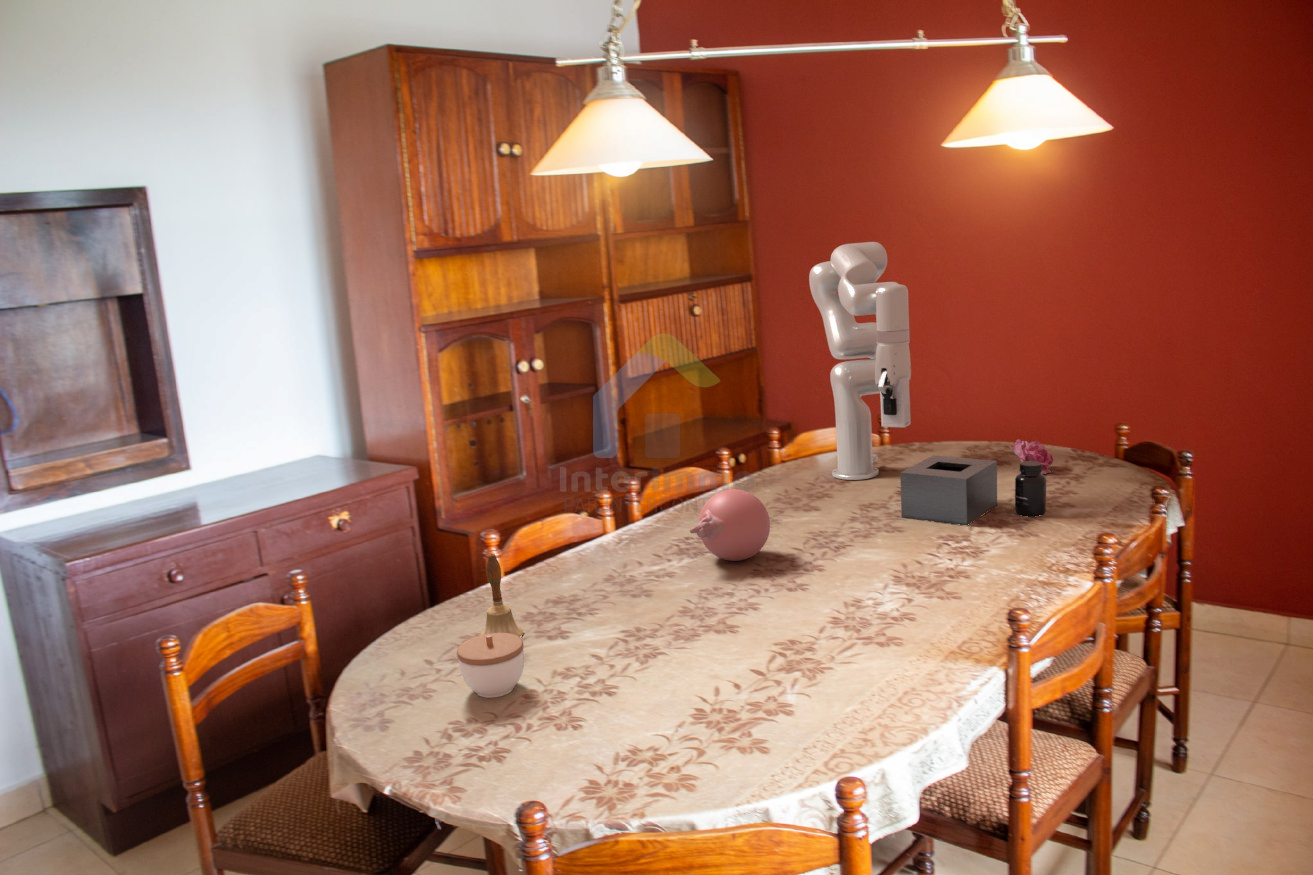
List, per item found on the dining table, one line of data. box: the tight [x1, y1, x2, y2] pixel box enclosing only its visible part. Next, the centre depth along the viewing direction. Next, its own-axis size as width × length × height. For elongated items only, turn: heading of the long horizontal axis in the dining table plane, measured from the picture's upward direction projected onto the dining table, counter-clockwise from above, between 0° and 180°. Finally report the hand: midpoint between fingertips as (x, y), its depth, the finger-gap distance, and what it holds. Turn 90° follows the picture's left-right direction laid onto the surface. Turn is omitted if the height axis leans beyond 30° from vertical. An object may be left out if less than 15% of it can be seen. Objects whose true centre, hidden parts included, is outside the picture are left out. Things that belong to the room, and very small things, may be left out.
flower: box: [1011, 438, 1055, 475], centre depth 273 cm, size 11×10×10 cm
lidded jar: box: [456, 633, 525, 699], centre depth 168 cm, size 11×11×9 cm
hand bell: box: [479, 553, 525, 637], centre depth 189 cm, size 8×8×16 cm
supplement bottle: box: [1014, 461, 1047, 518], centre depth 237 cm, size 7×7×12 cm
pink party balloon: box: [689, 488, 771, 562], centre depth 220 cm, size 15×20×15 cm
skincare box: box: [879, 376, 911, 428], centre depth 247 cm, size 6×4×12 cm
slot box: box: [899, 454, 998, 526], centre depth 243 cm, size 18×16×11 cm
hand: (895, 411), depth 248 cm, fingers closed on skincare box, 4 cm apart
